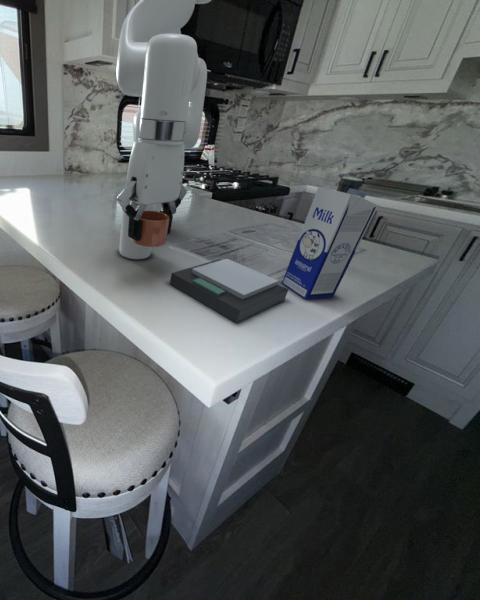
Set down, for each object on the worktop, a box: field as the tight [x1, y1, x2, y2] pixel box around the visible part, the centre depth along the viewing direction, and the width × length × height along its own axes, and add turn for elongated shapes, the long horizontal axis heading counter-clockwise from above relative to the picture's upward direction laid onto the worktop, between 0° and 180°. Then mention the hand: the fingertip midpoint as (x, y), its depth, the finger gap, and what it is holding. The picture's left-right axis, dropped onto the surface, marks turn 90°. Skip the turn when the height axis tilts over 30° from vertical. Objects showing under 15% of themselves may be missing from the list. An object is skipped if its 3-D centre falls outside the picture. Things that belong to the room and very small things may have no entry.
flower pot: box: [132, 211, 170, 248], centre depth 59 cm, size 7×7×5 cm
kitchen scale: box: [169, 258, 290, 324], centre depth 59 cm, size 16×15×4 cm
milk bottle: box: [118, 200, 156, 260], centre depth 70 cm, size 8×8×20 cm
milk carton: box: [281, 185, 379, 300], centre depth 58 cm, size 7×7×20 cm
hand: (149, 234), depth 60 cm, fingers closed on flower pot, 6 cm apart
